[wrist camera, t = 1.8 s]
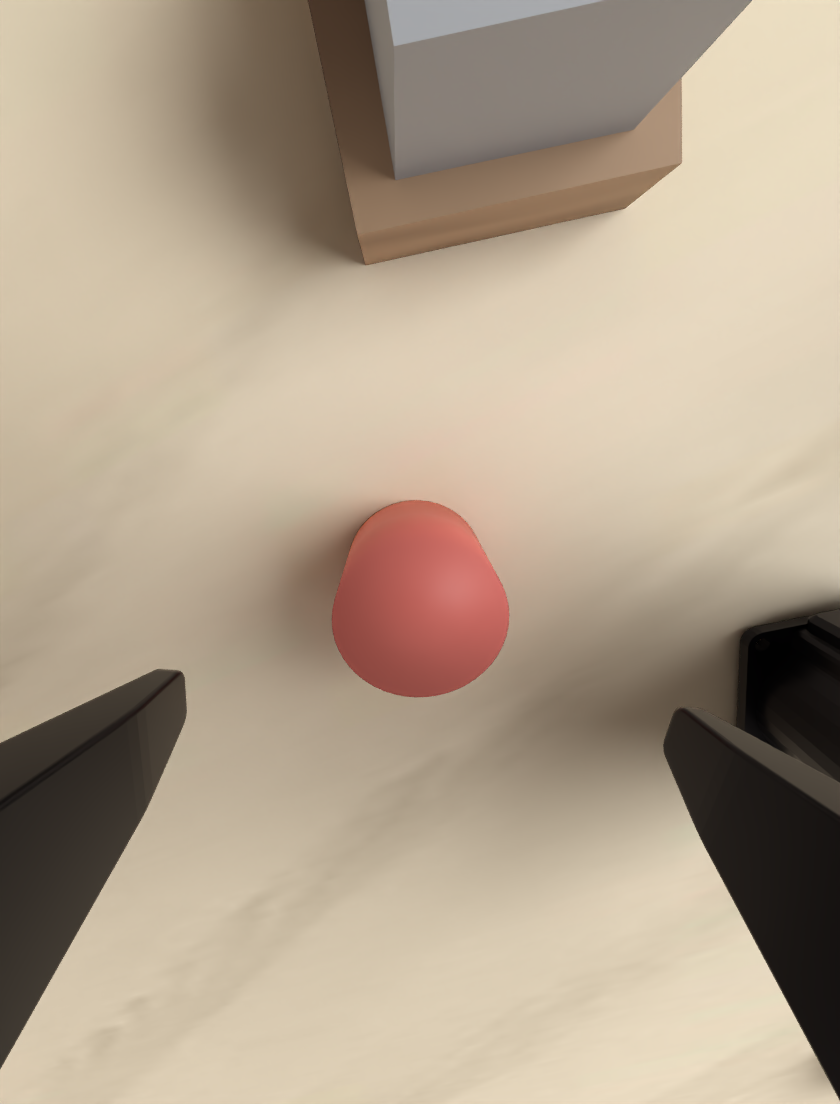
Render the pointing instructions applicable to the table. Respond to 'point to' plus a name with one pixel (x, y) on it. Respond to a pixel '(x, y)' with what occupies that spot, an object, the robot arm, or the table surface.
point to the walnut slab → (481, 188)
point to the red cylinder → (418, 602)
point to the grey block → (527, 71)
